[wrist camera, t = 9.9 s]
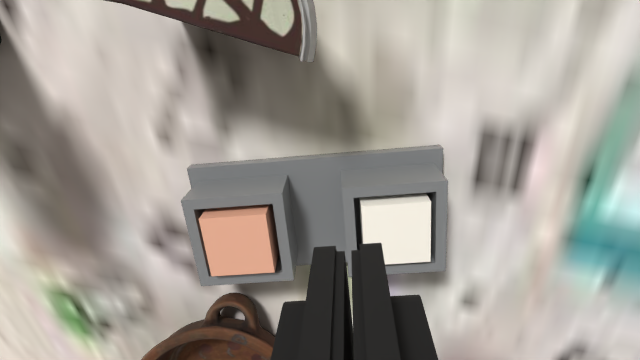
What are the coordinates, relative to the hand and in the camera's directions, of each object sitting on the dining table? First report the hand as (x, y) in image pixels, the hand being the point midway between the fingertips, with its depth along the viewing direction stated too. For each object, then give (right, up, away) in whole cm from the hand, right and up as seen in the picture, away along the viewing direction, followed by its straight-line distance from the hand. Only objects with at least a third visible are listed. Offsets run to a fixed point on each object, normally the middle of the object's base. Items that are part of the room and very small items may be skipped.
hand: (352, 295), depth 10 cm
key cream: (+5, 0, +22) cm, 22 cm away
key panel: (-1, 0, +25) cm, 25 cm away
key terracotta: (-7, -1, +22) cm, 24 cm away
